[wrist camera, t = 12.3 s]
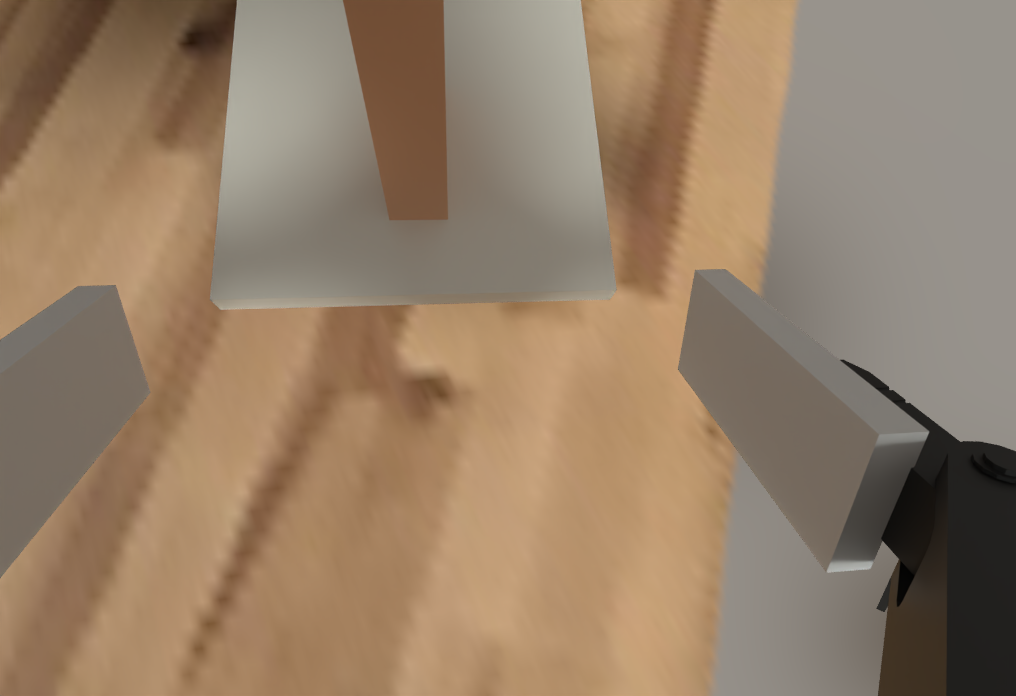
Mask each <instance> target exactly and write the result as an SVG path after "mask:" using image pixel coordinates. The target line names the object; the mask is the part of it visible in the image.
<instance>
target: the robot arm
mask: <svg viewBox="0 0 1016 696" xmlns="http://www.w3.org/2000/svg"><path fill="white" fill-rule="evenodd" d="M678 370H679V371H680V373H681V374H682V376H683V377H684V378H685V380H686V381H687V382H688V384H689V385H690V387H691V388H692V389H693V391H694V392H695V393H696V395H697V396H698V397H699V399H700V400H701V402H702V403H703V404H704V406H705V407H706V408H707V410H708V411H709V412H710V414H711V415H712V417H713V418H714V419H715V421H716V422H717V423H718V425H719V426H720V428H721V429H722V430H723V432H724V433H725V434H726V436H727V437H728V438H729V440H730V441H731V443H732V444H733V445H734V447H735V448H736V449H737V451H738V452H739V454H740V455H741V456H742V458H743V459H744V460H745V462H746V463H747V464H748V466H749V467H750V468H751V470H752V471H753V472H754V474H755V475H756V477H757V478H758V479H759V481H760V482H761V484H762V485H763V486H764V488H765V489H766V490H767V492H768V493H769V494H770V496H771V497H772V499H773V500H774V501H775V503H776V504H777V505H778V507H779V508H780V510H781V511H782V512H783V514H784V515H785V516H786V518H787V519H788V520H789V522H790V523H791V525H792V526H793V527H794V529H795V530H796V531H797V533H798V534H799V536H800V537H801V538H802V540H803V541H804V542H805V544H806V545H807V547H808V548H809V549H810V551H811V552H812V553H813V555H814V556H815V557H816V559H817V560H818V561H819V563H820V564H821V566H822V567H823V568H824V570H825V571H826V572H838V571H851V570H863V569H870V568H871V566H872V564H873V562H874V559H875V557H876V555H877V552H878V550H879V548H880V545H881V543H882V541H883V542H884V543H885V544H886V545H887V546H888V547H889V548H890V549H891V550H892V552H893V553H894V554H895V555H896V556H897V557H898V558H899V561H898V563H897V565H896V567H895V569H894V572H893V574H892V576H891V578H890V580H889V583H888V585H887V587H886V589H885V591H884V593H883V596H882V598H881V600H880V602H879V604H878V606H877V609H878V610H881V611H883V612H885V610H886V608H887V607H888V611H887V620H886V629H885V638H884V646H883V647H884V648H883V656H882V665H881V673H880V682H879V691H878V696H1016V451H1013V450H1010V449H1007V448H1005V447H1002V446H999V445H994V444H989V443H984V442H973V441H971V442H970V441H963V442H960V441H958V440H957V439H956V438H955V437H953V436H952V435H951V434H949V433H948V432H947V431H945V430H944V429H943V428H941V427H940V426H939V425H938V424H936V423H935V422H934V421H932V420H931V419H930V418H929V417H927V416H926V415H925V414H923V413H922V412H921V411H919V410H918V409H917V408H915V407H914V406H913V405H911V404H910V403H906V402H905V399H904V398H903V397H901V396H900V395H899V394H897V393H896V392H895V391H893V390H889V387H888V386H887V385H886V384H884V383H883V382H882V381H880V380H879V379H878V378H876V377H875V376H874V375H873V374H871V373H870V372H868V371H866V370H864V369H862V368H860V367H858V366H855V365H853V364H851V363H849V362H847V361H845V360H839V359H838V358H836V357H835V356H834V355H833V354H831V353H830V352H829V351H828V350H826V349H825V348H824V347H823V346H821V345H820V344H819V343H818V342H816V341H815V340H814V339H813V338H811V337H810V336H809V335H807V334H806V333H805V332H804V331H802V330H801V329H800V328H799V327H797V326H796V325H795V324H794V323H792V322H791V321H790V320H789V319H787V318H786V317H785V316H784V315H782V314H781V313H780V312H779V311H777V310H776V309H775V308H773V307H772V306H771V305H770V304H769V303H767V302H766V301H765V300H764V299H762V298H761V297H760V296H759V295H757V294H756V293H755V292H753V291H752V290H751V289H750V288H748V287H747V286H746V285H745V284H743V283H742V282H741V281H740V280H738V279H737V278H736V277H735V276H733V275H732V274H731V273H730V272H728V271H727V270H726V269H714V270H695V273H694V279H693V285H692V291H691V296H690V302H689V308H688V314H687V320H686V325H685V331H684V337H683V343H682V348H681V354H680V360H679V366H678ZM149 394H150V390H149V387H148V384H147V381H146V378H145V374H144V371H143V368H142V365H141V362H140V359H139V356H138V353H137V350H136V347H135V344H134V340H133V337H132V334H131V331H130V328H129V325H128V322H127V319H126V316H125V313H124V309H123V306H122V303H121V300H120V297H119V294H118V291H117V288H116V285H107V286H78V287H76V288H75V289H73V290H72V291H70V292H69V293H68V294H66V295H65V296H63V297H62V298H60V299H59V300H57V301H56V302H55V303H53V304H52V305H50V306H49V307H47V308H46V309H44V310H43V311H41V312H40V313H39V314H37V315H36V316H34V317H33V318H31V319H30V320H28V321H27V322H26V323H24V324H23V325H21V326H20V327H18V328H17V329H15V330H14V331H12V332H11V333H10V334H8V335H7V336H5V337H4V338H2V339H1V340H0V578H1V577H2V575H3V574H4V573H5V572H6V570H7V569H8V568H9V567H10V565H11V564H12V563H13V562H14V560H15V559H16V558H17V557H18V556H19V554H20V553H21V552H22V551H23V549H24V548H25V547H26V546H27V544H28V543H29V542H30V541H31V539H32V538H33V537H34V536H35V535H36V533H37V532H38V531H39V530H40V528H41V527H42V526H43V525H44V523H45V522H46V521H47V520H48V518H49V517H50V516H51V515H52V514H53V512H54V511H55V510H56V509H57V507H58V506H59V505H60V504H61V502H62V501H63V500H64V499H65V497H66V496H67V495H68V494H69V493H70V491H71V490H72V489H73V488H74V486H75V485H76V484H77V483H78V481H79V480H80V479H81V478H82V476H83V475H84V474H85V473H86V472H87V470H88V469H89V468H90V467H91V465H92V464H93V463H94V462H95V460H96V459H97V458H98V457H99V455H100V454H101V453H102V452H103V451H104V449H105V448H106V447H107V446H108V444H109V443H110V442H111V441H112V439H113V438H114V437H115V436H116V434H117V433H118V432H119V431H120V430H121V428H122V427H123V426H124V425H125V423H126V422H127V421H128V420H129V418H130V417H131V416H132V415H133V413H134V412H135V411H136V410H137V409H138V407H139V406H140V405H141V404H142V402H143V401H144V400H145V399H146V397H147V396H148V395H149Z"/></svg>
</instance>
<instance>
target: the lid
mask: <svg viewBox="0 0 1016 696" xmlns="http://www.w3.org/2000/svg"><path fill="white" fill-rule="evenodd" d="M615 291H616V282H615V274H614V266H613V258H612V250H611V242H610V234H609V226H608V218H607V210H606V201H605V193H604V185H603V177H602V169H601V161H600V153H599V145H598V137H597V129H596V121H595V113H594V105H593V97H592V89H591V81H590V73H589V64H588V56H587V48H586V40H585V32H584V24H583V16H582V8H581V0H237V7H236V18H235V29H234V40H233V51H232V62H231V73H230V84H229V95H228V106H227V118H226V129H225V140H224V151H223V162H222V173H221V184H220V195H219V206H218V217H217V228H216V239H215V250H214V261H213V272H212V283H211V294H210V300H211V301H212V302H213V303H214V304H215V305H216V306H217V307H218V308H219V309H221V310H225V309H263V308H302V307H340V306H379V305H418V304H456V303H495V302H533V301H572V300H610V299H611V297H612V296H613V294H614V293H615Z"/></svg>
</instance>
